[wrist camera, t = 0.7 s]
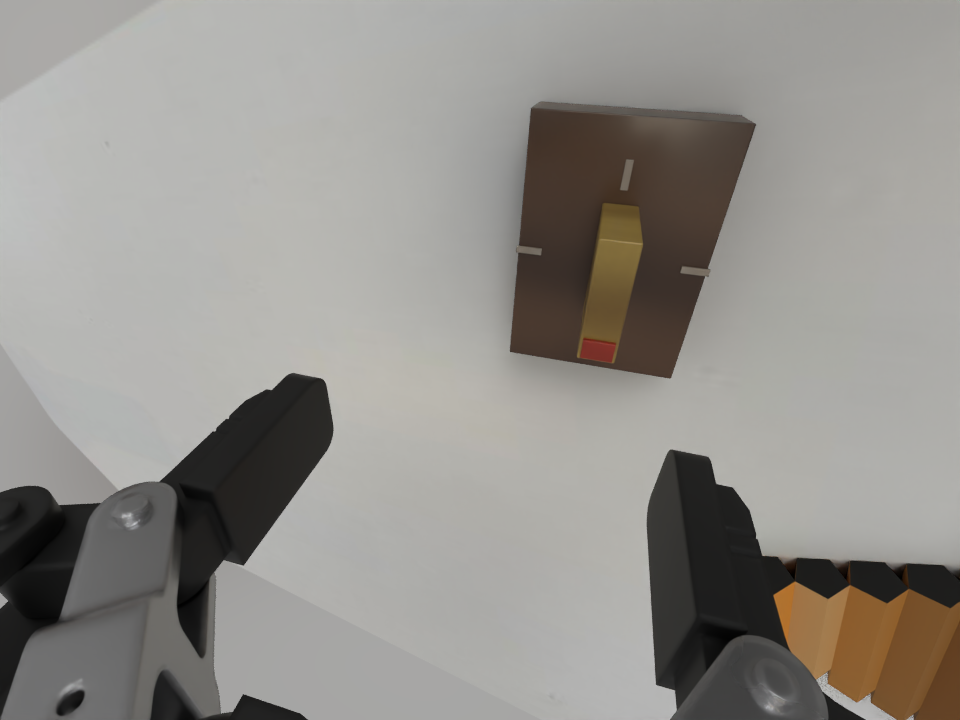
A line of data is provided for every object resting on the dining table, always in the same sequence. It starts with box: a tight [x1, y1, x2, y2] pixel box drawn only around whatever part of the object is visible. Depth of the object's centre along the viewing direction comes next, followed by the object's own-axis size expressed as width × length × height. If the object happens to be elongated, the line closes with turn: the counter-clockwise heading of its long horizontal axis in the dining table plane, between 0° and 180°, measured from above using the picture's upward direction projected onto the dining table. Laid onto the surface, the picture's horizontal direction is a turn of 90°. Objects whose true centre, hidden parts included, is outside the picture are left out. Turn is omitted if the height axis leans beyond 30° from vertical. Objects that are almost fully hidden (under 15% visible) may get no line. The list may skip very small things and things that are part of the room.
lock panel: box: [510, 102, 756, 378], centre depth 26 cm, size 14×10×3 cm
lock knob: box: [577, 203, 643, 363], centre depth 23 cm, size 6×2×6 cm, turn 178°
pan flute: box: [761, 556, 960, 720], centre depth 40 cm, size 25×3×25 cm
